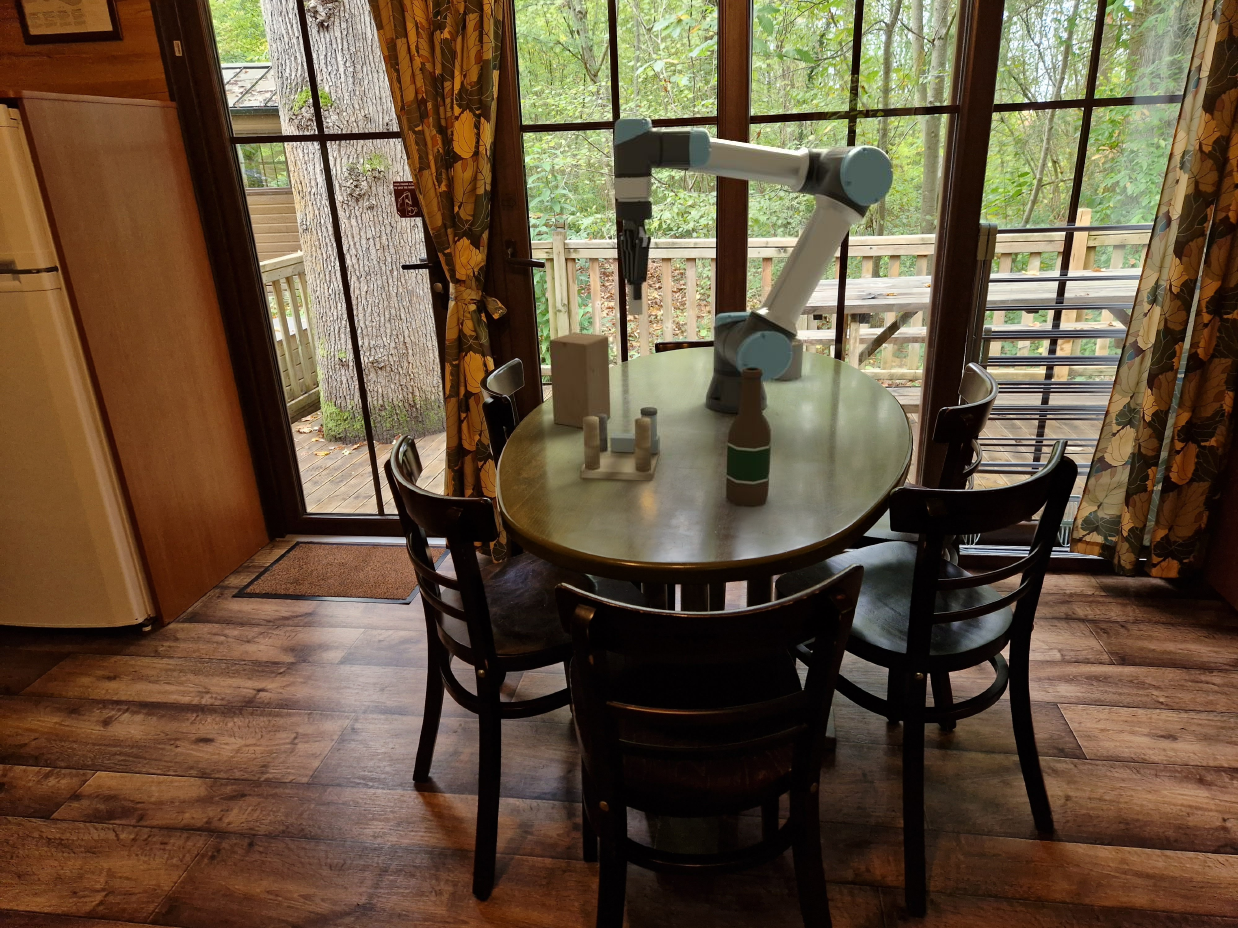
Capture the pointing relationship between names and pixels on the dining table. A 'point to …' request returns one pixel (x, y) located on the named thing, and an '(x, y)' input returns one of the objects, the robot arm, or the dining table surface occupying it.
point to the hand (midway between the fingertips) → (635, 314)
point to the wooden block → (579, 377)
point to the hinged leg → (627, 441)
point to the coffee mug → (794, 362)
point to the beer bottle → (749, 446)
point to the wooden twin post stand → (617, 463)
